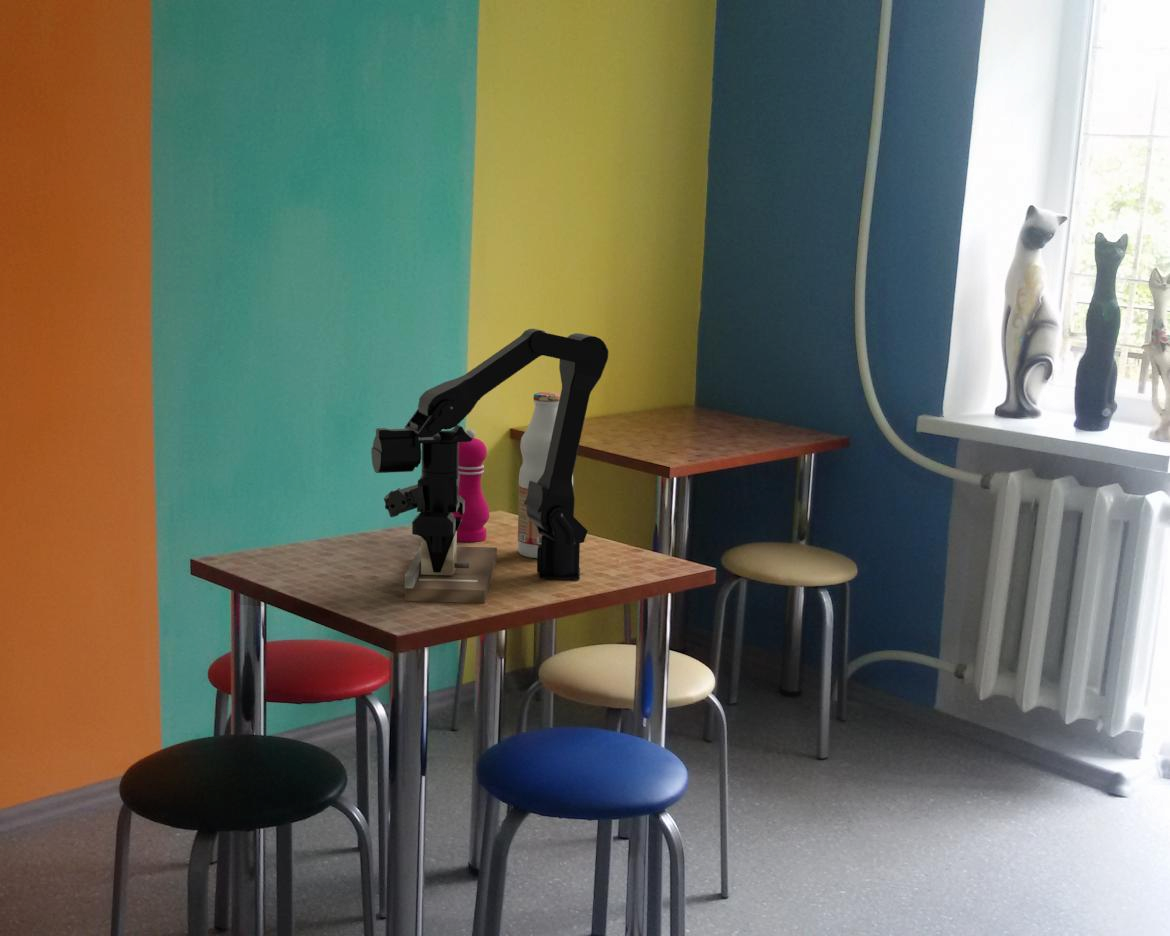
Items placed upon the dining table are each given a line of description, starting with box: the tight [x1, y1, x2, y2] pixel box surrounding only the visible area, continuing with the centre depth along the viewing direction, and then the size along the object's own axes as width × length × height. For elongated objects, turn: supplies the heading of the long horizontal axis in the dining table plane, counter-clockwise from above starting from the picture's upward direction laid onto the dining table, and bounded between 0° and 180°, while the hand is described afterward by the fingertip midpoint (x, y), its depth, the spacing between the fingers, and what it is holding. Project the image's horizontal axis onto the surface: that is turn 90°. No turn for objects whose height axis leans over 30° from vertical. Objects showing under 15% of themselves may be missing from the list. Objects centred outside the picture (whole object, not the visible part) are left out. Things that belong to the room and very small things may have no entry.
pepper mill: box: [452, 428, 490, 543], centre depth 249 cm, size 7×7×20 cm
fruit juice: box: [517, 391, 574, 559], centre depth 238 cm, size 9×9×28 cm
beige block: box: [420, 531, 469, 575], centre depth 217 cm, size 7×5×6 cm
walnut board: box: [404, 545, 498, 604], centre depth 221 cm, size 12×28×4 cm, turn 0°
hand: (439, 567), depth 217 cm, fingers closed on beige block, 5 cm apart
